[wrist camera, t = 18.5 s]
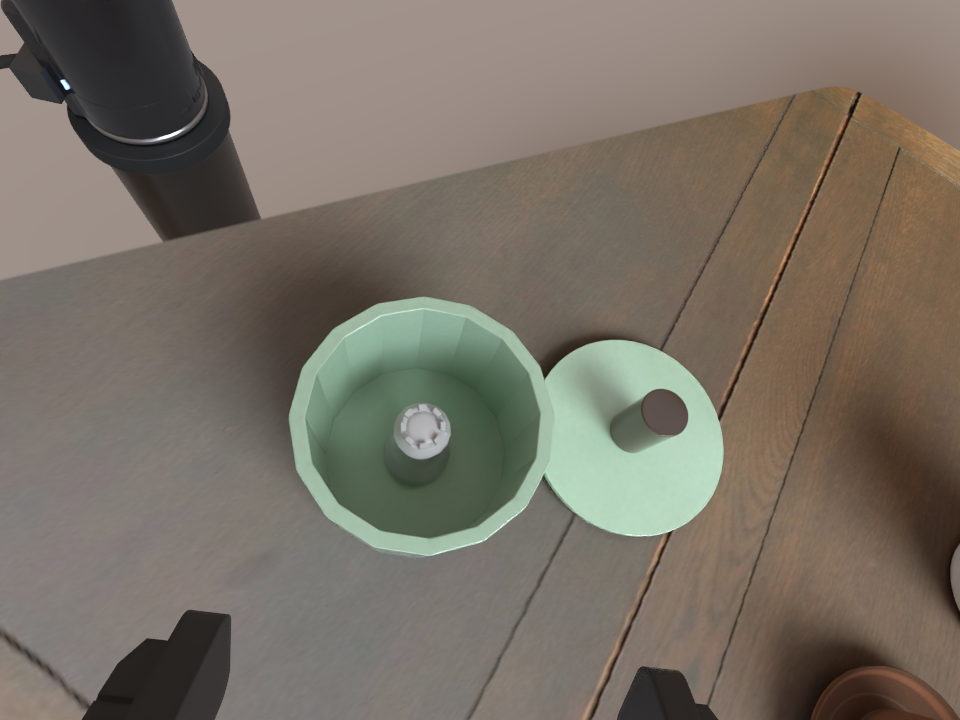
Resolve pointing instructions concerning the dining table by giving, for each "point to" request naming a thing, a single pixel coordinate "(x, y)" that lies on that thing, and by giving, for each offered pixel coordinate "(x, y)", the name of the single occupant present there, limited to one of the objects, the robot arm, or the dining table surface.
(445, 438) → the rook chess piece
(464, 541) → the jar
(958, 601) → the supplement tub
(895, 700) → the cup and saucer
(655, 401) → the jar lid
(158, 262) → the dining table surface
